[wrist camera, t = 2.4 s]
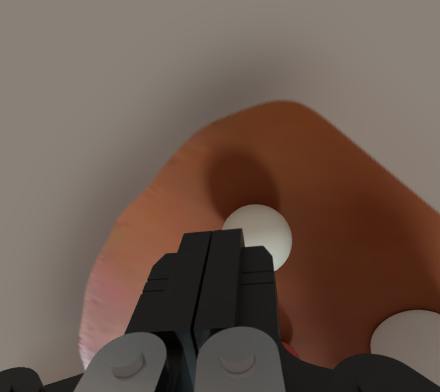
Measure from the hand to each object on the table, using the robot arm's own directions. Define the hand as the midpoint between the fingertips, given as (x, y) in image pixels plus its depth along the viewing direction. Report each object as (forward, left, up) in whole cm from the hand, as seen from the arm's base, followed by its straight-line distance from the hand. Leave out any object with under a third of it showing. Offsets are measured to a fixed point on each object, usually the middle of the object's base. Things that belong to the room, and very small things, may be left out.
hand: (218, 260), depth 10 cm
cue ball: (-6, +7, -17) cm, 20 cm away
